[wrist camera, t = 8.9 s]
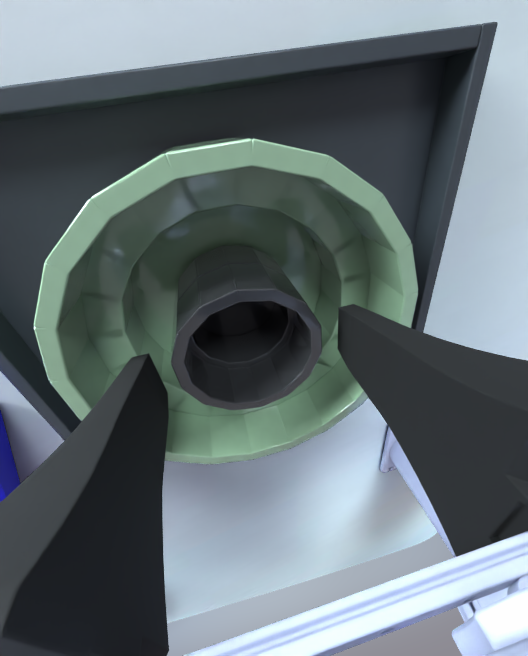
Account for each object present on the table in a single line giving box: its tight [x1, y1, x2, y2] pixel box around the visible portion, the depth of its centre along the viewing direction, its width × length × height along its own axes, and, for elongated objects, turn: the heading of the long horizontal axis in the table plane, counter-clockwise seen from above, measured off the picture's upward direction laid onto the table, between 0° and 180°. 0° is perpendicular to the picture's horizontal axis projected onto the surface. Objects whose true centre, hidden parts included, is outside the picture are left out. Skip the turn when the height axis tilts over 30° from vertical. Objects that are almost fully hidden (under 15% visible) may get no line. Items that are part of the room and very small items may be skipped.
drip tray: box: [0, 22, 497, 441], centre depth 14 cm, size 21×17×2 cm
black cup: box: [171, 245, 322, 411], centre depth 12 cm, size 6×6×5 cm
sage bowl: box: [34, 138, 418, 464], centre depth 13 cm, size 13×13×6 cm
